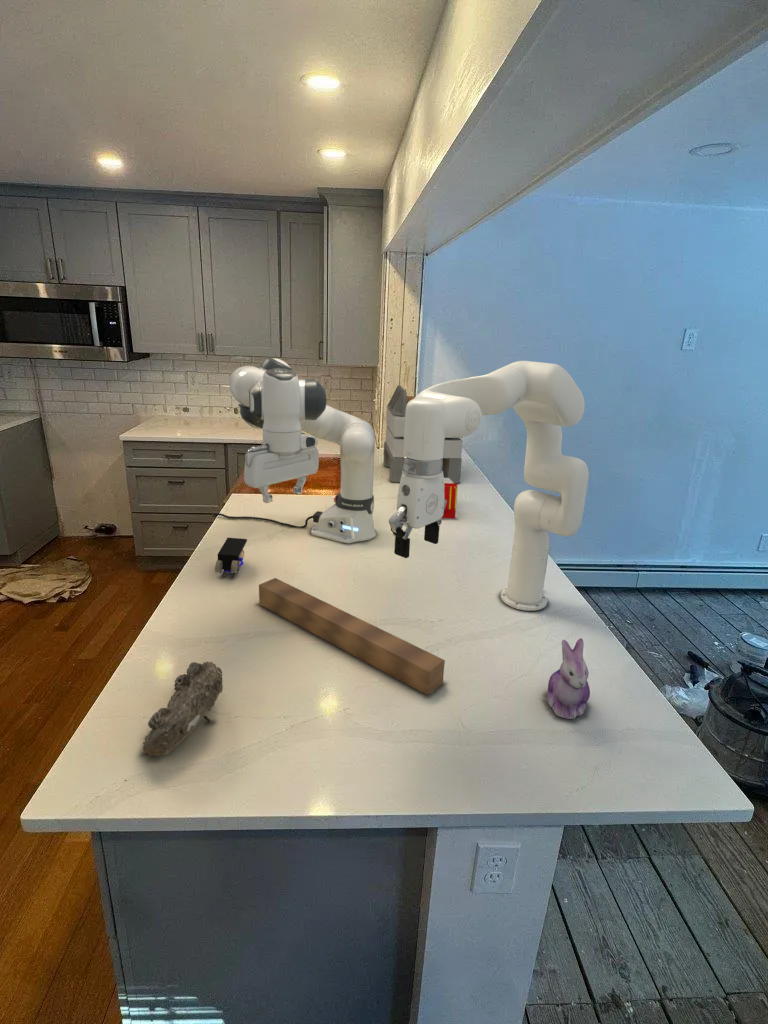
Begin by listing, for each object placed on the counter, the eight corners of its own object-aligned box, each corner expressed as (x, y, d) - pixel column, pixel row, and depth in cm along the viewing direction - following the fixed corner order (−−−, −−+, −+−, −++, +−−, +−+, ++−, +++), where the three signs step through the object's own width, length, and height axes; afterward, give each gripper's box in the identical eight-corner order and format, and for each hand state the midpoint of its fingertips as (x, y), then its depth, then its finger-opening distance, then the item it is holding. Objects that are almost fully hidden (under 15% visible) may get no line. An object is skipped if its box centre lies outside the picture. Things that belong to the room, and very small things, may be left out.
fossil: (172, 663, 116) (224, 630, 111) (205, 693, 119) (256, 663, 114) (117, 750, 97) (177, 715, 92) (158, 783, 100) (218, 752, 95)
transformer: (382, 463, 289) (386, 382, 275) (445, 464, 293) (451, 384, 279) (390, 482, 257) (394, 392, 243) (460, 483, 261) (468, 394, 247)
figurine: (568, 727, 109) (581, 661, 104) (532, 696, 118) (542, 634, 113) (603, 714, 113) (617, 650, 108) (566, 685, 122) (577, 624, 117)
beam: (259, 604, 149) (258, 584, 147) (275, 597, 153) (275, 577, 151) (427, 695, 117) (429, 671, 115) (442, 683, 121) (444, 660, 119)
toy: (450, 473, 241) (461, 484, 212) (448, 504, 244) (459, 519, 214) (421, 472, 240) (429, 483, 211) (420, 503, 243) (427, 518, 214)
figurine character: (238, 584, 162) (249, 557, 175) (236, 562, 158) (247, 536, 172) (215, 584, 161) (227, 556, 175) (212, 561, 158) (225, 535, 171)
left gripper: (254, 450, 122) (256, 511, 127) (323, 437, 137) (322, 492, 142) (236, 445, 126) (239, 504, 131) (305, 433, 141) (305, 486, 145)
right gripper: (410, 478, 98) (404, 567, 104) (463, 461, 111) (456, 542, 117) (377, 469, 103) (374, 555, 109) (432, 454, 116) (426, 532, 121)
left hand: (283, 497), depth 136 cm, fingers open, 8 cm apart
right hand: (416, 548), depth 113 cm, fingers open, 9 cm apart
